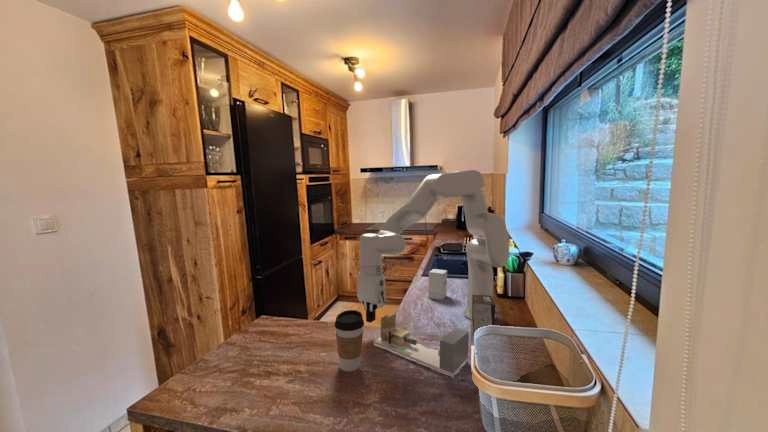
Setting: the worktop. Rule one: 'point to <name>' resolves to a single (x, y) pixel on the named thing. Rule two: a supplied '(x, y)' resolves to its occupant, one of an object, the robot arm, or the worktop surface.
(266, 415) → the worktop surface
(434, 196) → the robot arm
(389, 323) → the beige stepped block
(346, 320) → the coffee cup
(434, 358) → the beige vise
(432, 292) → the supplement box
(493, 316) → the coffee box
